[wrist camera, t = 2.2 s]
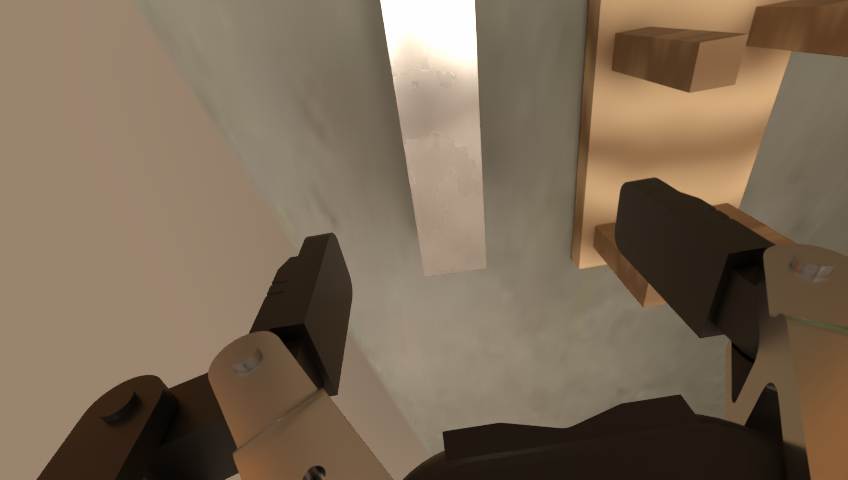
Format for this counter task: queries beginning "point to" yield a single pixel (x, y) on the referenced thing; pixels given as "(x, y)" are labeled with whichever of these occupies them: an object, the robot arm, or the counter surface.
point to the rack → (683, 105)
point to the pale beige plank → (440, 127)
